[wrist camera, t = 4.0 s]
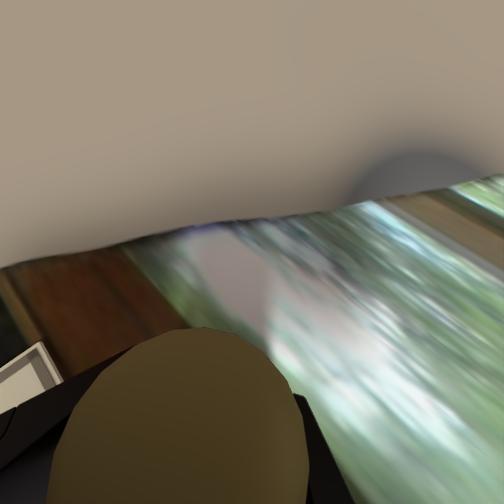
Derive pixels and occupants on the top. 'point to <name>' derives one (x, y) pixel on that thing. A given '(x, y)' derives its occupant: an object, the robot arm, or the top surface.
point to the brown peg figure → (184, 428)
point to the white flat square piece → (27, 377)
